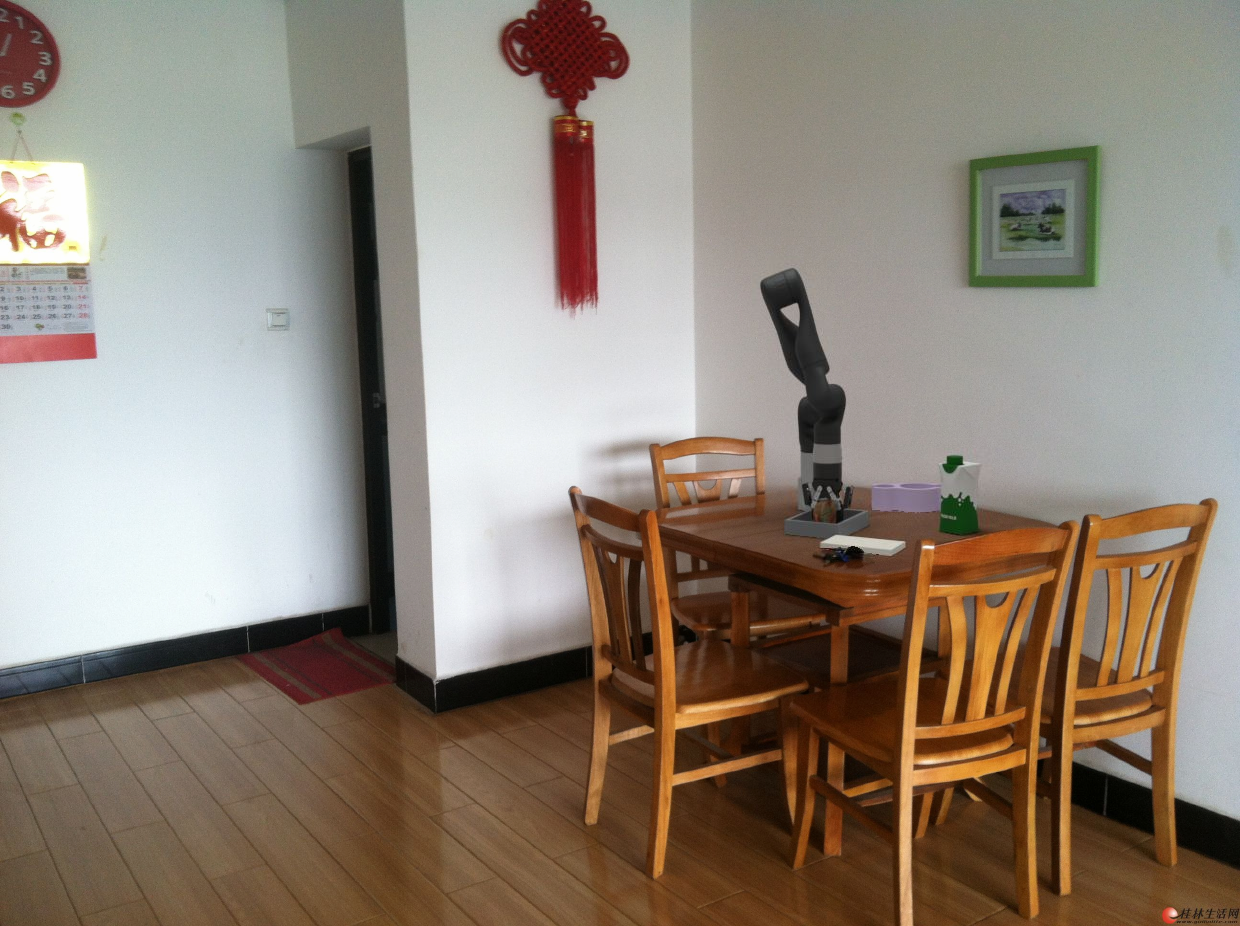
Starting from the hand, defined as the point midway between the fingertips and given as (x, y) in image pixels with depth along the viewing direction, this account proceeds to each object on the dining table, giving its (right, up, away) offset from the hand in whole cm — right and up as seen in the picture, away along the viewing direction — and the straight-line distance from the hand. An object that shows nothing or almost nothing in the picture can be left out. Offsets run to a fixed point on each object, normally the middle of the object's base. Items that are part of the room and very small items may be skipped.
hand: (827, 522), depth 284 cm
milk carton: (+33, -2, -6) cm, 34 cm away
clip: (+28, +2, +26) cm, 39 cm away
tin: (0, -2, 0) cm, 2 cm away
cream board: (+4, -5, -22) cm, 23 cm away
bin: (0, -2, 0) cm, 2 cm away
